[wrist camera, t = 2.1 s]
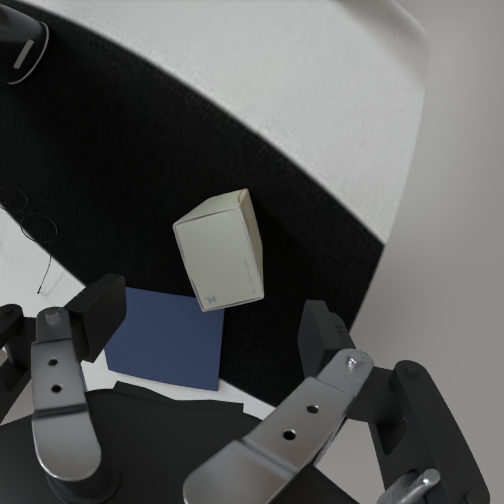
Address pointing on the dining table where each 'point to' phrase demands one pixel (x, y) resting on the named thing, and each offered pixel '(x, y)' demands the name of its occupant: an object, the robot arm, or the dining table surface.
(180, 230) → the cosmetic box
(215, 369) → the cloth
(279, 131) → the dining table surface
